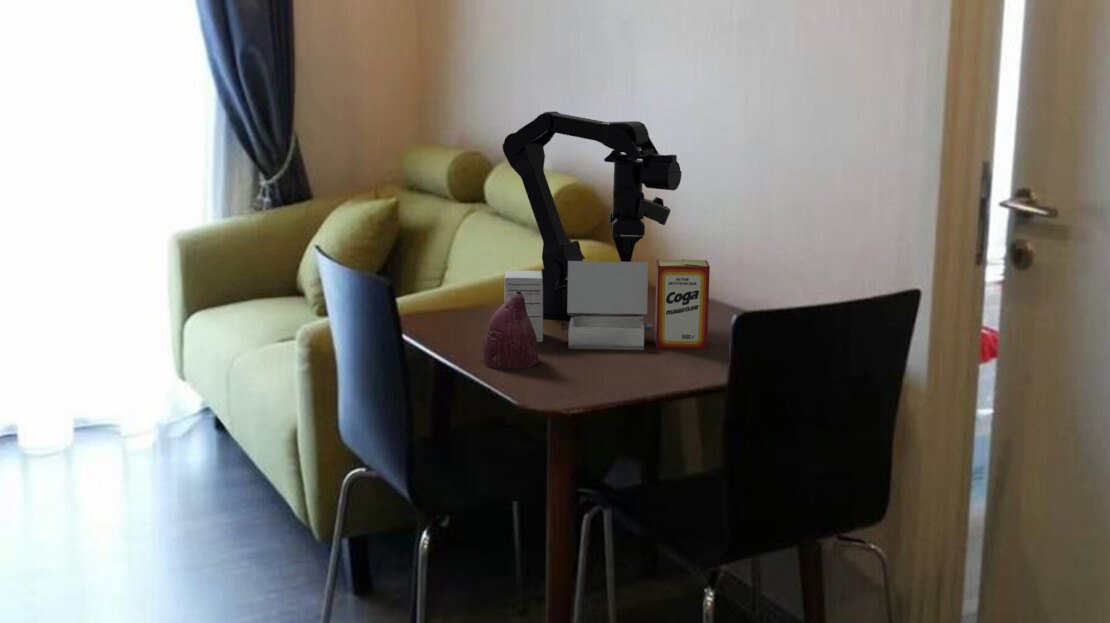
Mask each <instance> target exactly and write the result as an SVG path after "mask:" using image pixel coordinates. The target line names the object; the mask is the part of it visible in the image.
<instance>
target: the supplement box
mask: <svg viewBox="0 0 1110 623" xmlns="http://www.w3.org/2000/svg"><path fill="white" fill-rule="evenodd" d="M503 280H504V282H503V283H504V285H503V286H504V288H503V289H504V303H505V302H506V301H507V300H508V299H509V298H510V297H511V296H512V295H513V294H514V293H516V292H517V291H518V290H520V291H521V293H522V295H523V296H524V299H525V306H526V311H527V314H528V317H529V319H530V321H531V324H532V326H533V328H534V331H535V334H536V339H537V343H543V341H544V318H543V279H542V271H541V270H506V271H505V272H504V279H503Z"/></svg>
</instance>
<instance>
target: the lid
mask: <svg viewBox="0 0 1110 623" xmlns="http://www.w3.org/2000/svg"><path fill="white" fill-rule="evenodd" d="M648 283H649V262H648V261H631V262H621V261H604V260H603V261H601V260H600V261H596V260H595V261H593V260H589V261H588V260H587V261H586V260H583V261H568V298H567V315H571V316H587V317H643V318H645V317H648V296H649V295H648V292H649V288H648V287H649V284H648Z"/></svg>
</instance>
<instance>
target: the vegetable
mask: <svg viewBox="0 0 1110 623" xmlns="http://www.w3.org/2000/svg"><path fill="white" fill-rule="evenodd" d="M538 348H539V347H538V342H537V339H536V334H535V331H534V328H533V326H532V324H531V321H530V319H529V317H528V314H527V311H526V306H525V299H524V296H523V295H522V293H521V291H520V290H518V291H517V292H516V293H514V294H513V295H512V296H511V297H510V298H509V299H508V300H507V301H506V302H505V301H504V303H503V304H502V305H501V306H499V307H498V309H497V310H496V311H494V313H493V315H492V316H491V319H490V321H489V322H488V325H487V330H486V332H485V335H484V338H483V346H482V359H481V362H482V363H483V365H484V366H486V367H488V368H492V369H499V368H500V370H503V369H505V370H509V369H525V367H527V368H530V367H533V366H534V365H536V364H538V362H539V349H538Z"/></svg>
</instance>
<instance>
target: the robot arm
mask: <svg viewBox="0 0 1110 623" xmlns="http://www.w3.org/2000/svg"><path fill="white" fill-rule="evenodd" d="M555 134H560V135H564V136H565V135H566V136H569V137H575V138H580V139H585V140H590V141H595V142H598V143H600V144H601V145H603V146H605V147H606V148H608V149H611V152H610V153H609V154H608V155H607V156H606V157H604V158H603V161H604V162H605V163H613V187H612V188H613V189H612V210H610V212H609V224H610V230H611V236H612V239H613V242H614V245H615V247H616V251H617V254H618V256H619V259H620V262H632V257H633V254H634V249H635V245H636V244H637V243H638V242H639V241H640V240H642V239H643V238H644V236H645V233H646V226H645V222H643V221H642V220H644V218H647V219H649V220H652V221H654V222H657V223H658V224H660V225H662V226H666V223H667V220H668V218H669V216H670V214H671V211H672V210H671V208H670V207H668V206H667V205H664V199H663V198H661V197H658V196H655V197H654V198H653V199H652V200H651V199H648V198H645V194H644V191H643V185H644V186H645V188H647V189H654V190H655V189H656V190H665V191H673V192H674V191H675V190H677V189H679V186H680V184H681V180H682V170H681V166H680V163H679V162H678V156H677V154H660V153H659V151H658V150H657V148H656V146H655V145H654V143H653V141H652V140H651V138H650V137H649V136H650V135H649V134H650V133H649V131H648V129H647V127H646V124H644V123H643V122H641V121H637V120H635V121H633V120H632V121H602V120H599V119H591V118H586V117H581V116H575V115H571V114H564V113H560V112H558V111H543V112H541V113H540V114H539V115H538V116H536V118H534V119H533V120H532V121H530V122H528V123H527V124H525V125H524V126H522V127H521V128H519V129H518V130H517V131H516V132H512V133H509V134H507V136H506V137H505V138H504V140H503V143H502V152H503V154H504V157H505V158H506V160H507V162H508V164H509V166H510V167H511V169H513V170H514V171H515V173H516V174H517V175H518V176H519V177H520V179H521V180H522V184H523V187H524V189H525V193H526V195H527V199H528V201H529V202H528V203H529V205H530V207H531V210H532V213H533V217H534V219H535V222H536V225H537V227H538V230H539V234H540V237H541V240H542V242H543V243H542V254H541V261H542V266H543V268H542V269H541V270H540V271H542V279H543V319H571V316H572V315H567V298H568V261H584V260H585V259H586V257H585V256H584V254H583V253H582V250H581V244H580V242H579V241H578V240H573V241H571V239H570V238H569V237H568V236H567V235H566V232H565V229H564V227H563V224H562V221H561V218H560V217H561V216H560V215H559V212H558V209H557V206H556V203H555V200H554V197H553V194H552V192H551V189H550V186H549V183H548V179H547V178H546V174H545V161H546V160H545V159H546V155H545V154H546V153H545V149H544V147H545V146H546V145H547V144H549V143H550V141H551V140H552V139H553V137H554V136H555Z"/></svg>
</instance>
